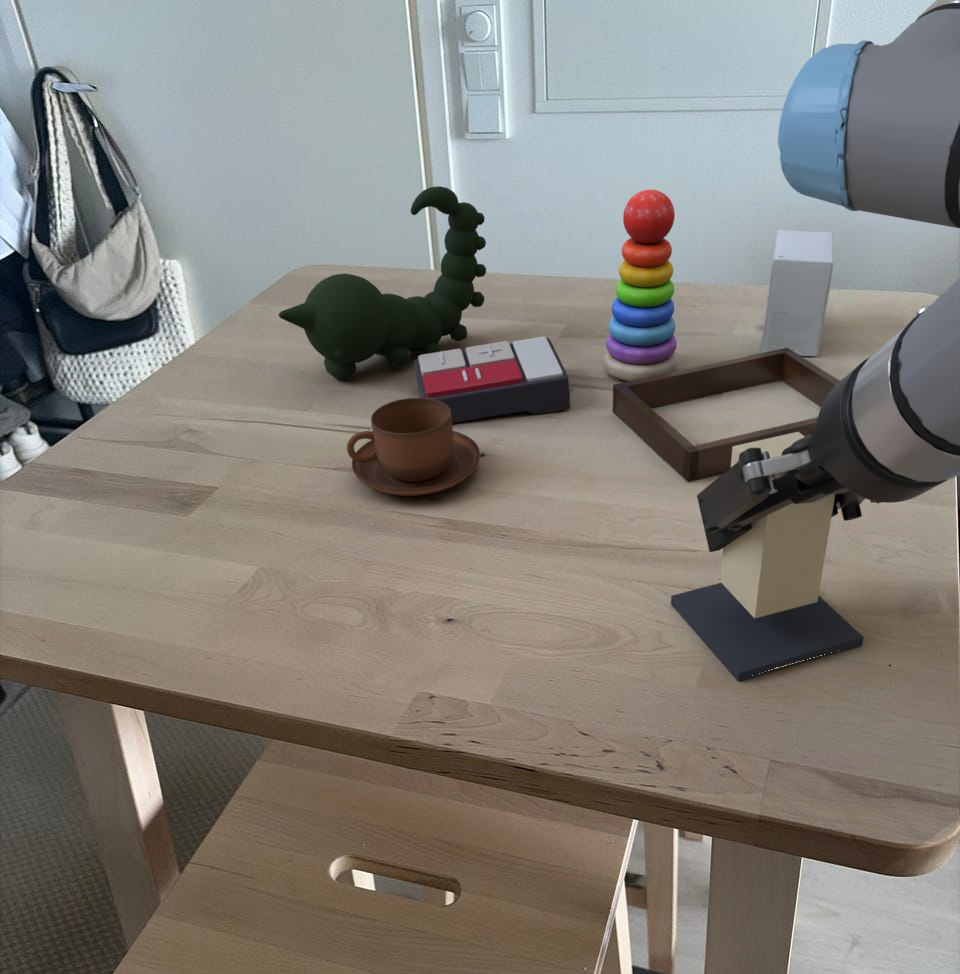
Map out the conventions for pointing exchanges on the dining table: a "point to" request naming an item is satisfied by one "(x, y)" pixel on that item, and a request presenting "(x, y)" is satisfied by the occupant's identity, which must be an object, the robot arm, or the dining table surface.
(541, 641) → the dining table surface
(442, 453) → the cup and saucer
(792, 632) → the mat
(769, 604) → the block
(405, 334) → the toy figurine
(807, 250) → the cosmetics box
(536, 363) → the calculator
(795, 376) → the wooden frame
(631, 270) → the stacking toy
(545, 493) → the dining table surface
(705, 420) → the dining table surface
